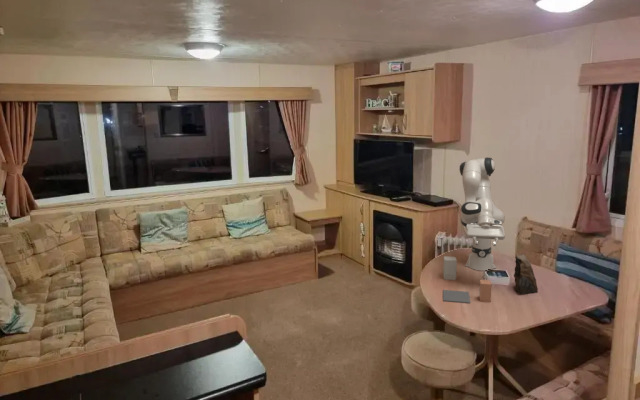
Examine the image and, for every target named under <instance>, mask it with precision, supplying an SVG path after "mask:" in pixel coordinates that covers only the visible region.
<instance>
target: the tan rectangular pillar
mask: <svg viewBox="0 0 640 400" xmlns="http://www.w3.org/2000/svg"><path fill="white" fill-rule="evenodd" d="M492 285H493V284H492V281H491V280H486V279H480V280H479V293H478V294H479V295H478V297H479V301H481V302H489V303H490V302H491V300H492Z"/></svg>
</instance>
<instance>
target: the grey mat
mask: <svg viewBox="0 0 640 400" xmlns="http://www.w3.org/2000/svg"><path fill="white" fill-rule="evenodd" d="M442 301H443V302H448V303H449V302H450V303H458V304H459V303H461V304H471V299H470V292H469V291H465V290H463V291H462V290H451V289H449V290H448V289H442Z"/></svg>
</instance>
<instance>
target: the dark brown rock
mask: <svg viewBox="0 0 640 400" xmlns="http://www.w3.org/2000/svg"><path fill="white" fill-rule="evenodd" d="M514 262H515V267H514V274H513V277H514V285H515V286H514V292H515V293H517V294H519V295H520V296H521V295H523V296H524V295H530V294H536V293H539V292H538V289H539V288H538V285H537V279H536V276H535V273H534V268H533V267H532V264H531V262H530V260H529V259H528V258H527V256H526V255H525V254H524V253H521V254H517V255H516V256H515V260H514Z"/></svg>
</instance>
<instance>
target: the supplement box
mask: <svg viewBox="0 0 640 400" xmlns="http://www.w3.org/2000/svg"><path fill="white" fill-rule="evenodd" d="M442 262H443V263H442V264H443V265H442V266H443V267H442V276H443V279H444V280H449V281H456V280H457V267H458V266H457V263H458V260H457V258H456V256H445V255H444V256H443V261H442Z"/></svg>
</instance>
